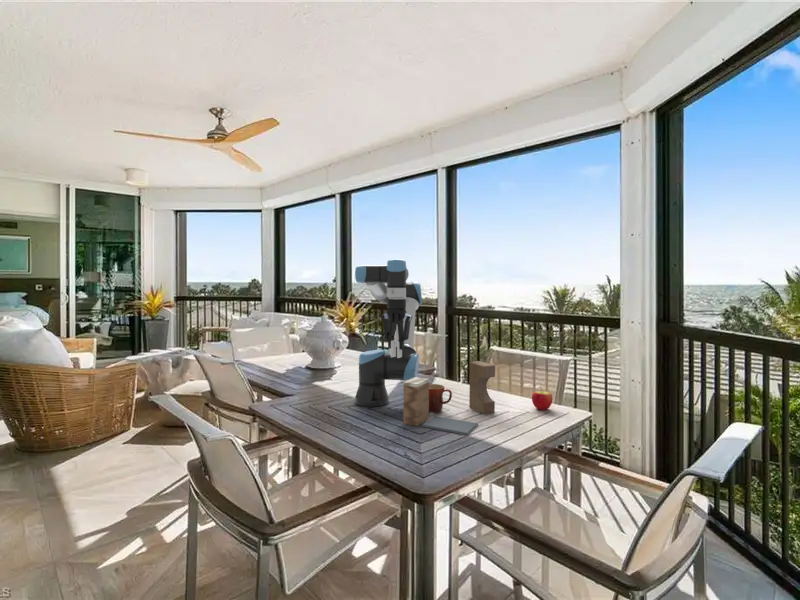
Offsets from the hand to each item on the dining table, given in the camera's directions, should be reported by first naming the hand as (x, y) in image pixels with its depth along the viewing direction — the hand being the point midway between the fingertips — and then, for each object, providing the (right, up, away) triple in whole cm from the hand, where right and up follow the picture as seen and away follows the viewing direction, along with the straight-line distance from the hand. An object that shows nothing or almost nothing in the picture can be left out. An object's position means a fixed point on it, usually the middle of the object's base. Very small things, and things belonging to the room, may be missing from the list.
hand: (396, 357), depth 178 cm
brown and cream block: (+8, -25, -3) cm, 26 cm away
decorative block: (+36, -24, +11) cm, 45 cm away
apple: (+62, -24, +13) cm, 68 cm away
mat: (+21, -25, -9) cm, 34 cm away
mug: (+17, -24, +10) cm, 31 cm away
